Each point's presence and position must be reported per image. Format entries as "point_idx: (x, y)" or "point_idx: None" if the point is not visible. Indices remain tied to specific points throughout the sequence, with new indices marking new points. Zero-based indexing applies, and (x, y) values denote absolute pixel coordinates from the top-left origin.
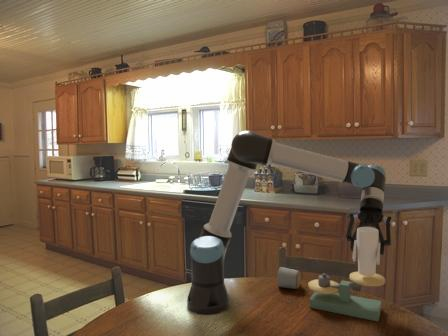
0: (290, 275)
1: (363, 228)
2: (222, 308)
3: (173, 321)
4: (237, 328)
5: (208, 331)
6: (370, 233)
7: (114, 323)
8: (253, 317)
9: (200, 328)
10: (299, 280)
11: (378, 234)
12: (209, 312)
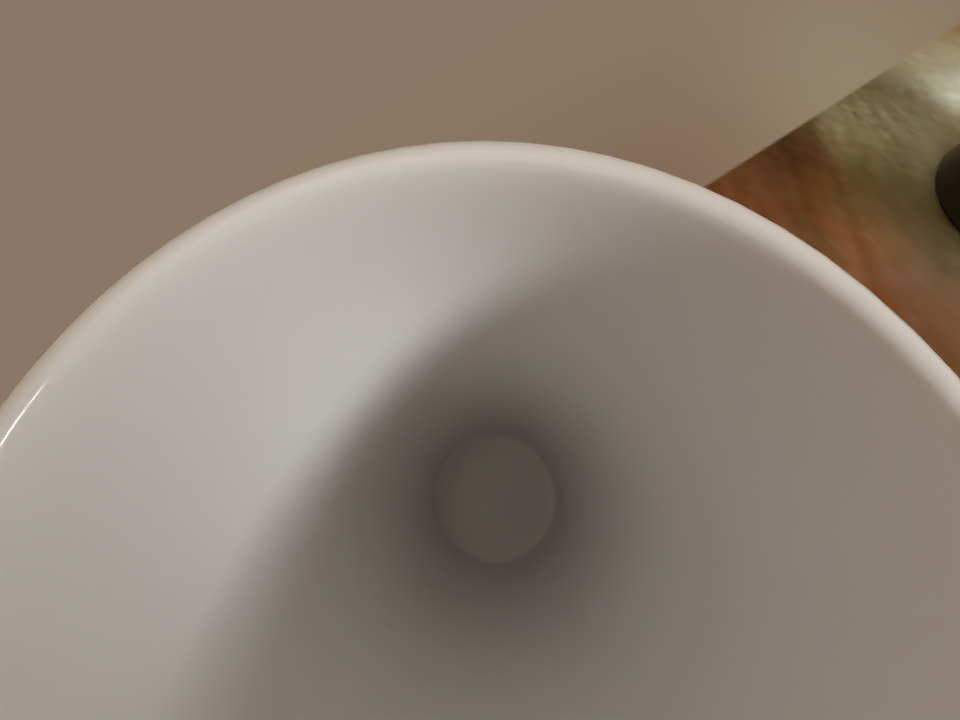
0: None
1: None
2: (949, 181)
3: None
4: (802, 143)
5: (852, 92)
6: (284, 221)
7: None
8: (819, 218)
9: (884, 90)
10: None
11: (84, 568)
12: (956, 146)
